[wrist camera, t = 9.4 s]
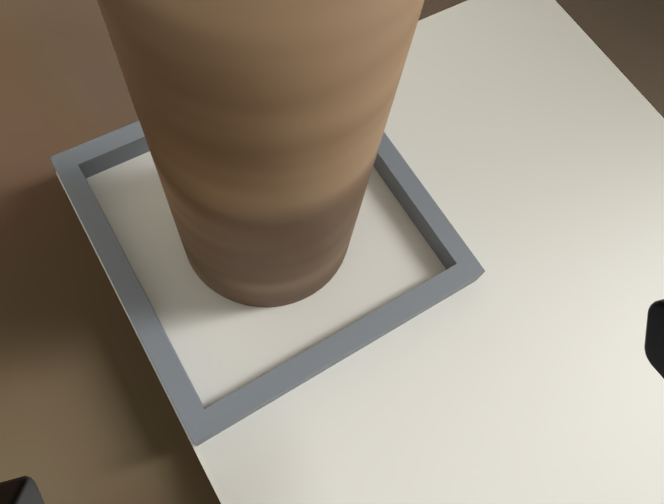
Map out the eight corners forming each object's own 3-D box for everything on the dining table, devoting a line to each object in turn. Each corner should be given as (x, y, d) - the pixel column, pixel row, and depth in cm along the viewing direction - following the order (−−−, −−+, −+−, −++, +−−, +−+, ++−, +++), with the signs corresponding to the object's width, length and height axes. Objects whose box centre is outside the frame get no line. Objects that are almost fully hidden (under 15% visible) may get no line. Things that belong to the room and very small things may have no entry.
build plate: (870, 375, 18) (922, 364, 17) (373, 802, 13) (386, 841, 12) (522, -10, 23) (539, -44, 22) (64, 185, 18) (46, 158, 17)
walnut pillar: (382, 224, 18) (563, -217, 7) (271, 342, 16) (272, 5, 5) (263, 128, 19) (252, -395, 8) (145, 231, 17) (-85, -262, 6)
